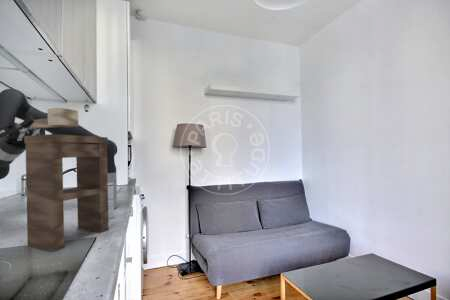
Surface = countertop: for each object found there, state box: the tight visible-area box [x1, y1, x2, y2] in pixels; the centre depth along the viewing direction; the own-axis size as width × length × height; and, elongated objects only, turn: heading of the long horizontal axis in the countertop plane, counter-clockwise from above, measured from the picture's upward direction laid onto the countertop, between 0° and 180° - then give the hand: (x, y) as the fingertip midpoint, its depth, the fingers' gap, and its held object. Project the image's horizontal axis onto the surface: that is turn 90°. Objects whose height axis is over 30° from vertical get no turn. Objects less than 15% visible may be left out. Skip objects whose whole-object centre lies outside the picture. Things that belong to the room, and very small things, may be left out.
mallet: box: [29, 107, 79, 129], centre depth 73 cm, size 6×20×5 cm, turn 69°
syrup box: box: [108, 183, 115, 220], centre depth 91 cm, size 6×6×14 cm
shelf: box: [24, 133, 110, 253], centre depth 71 cm, size 18×12×32 cm, turn 159°
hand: (37, 119), depth 75 cm, fingers closed on mallet, 2 cm apart
